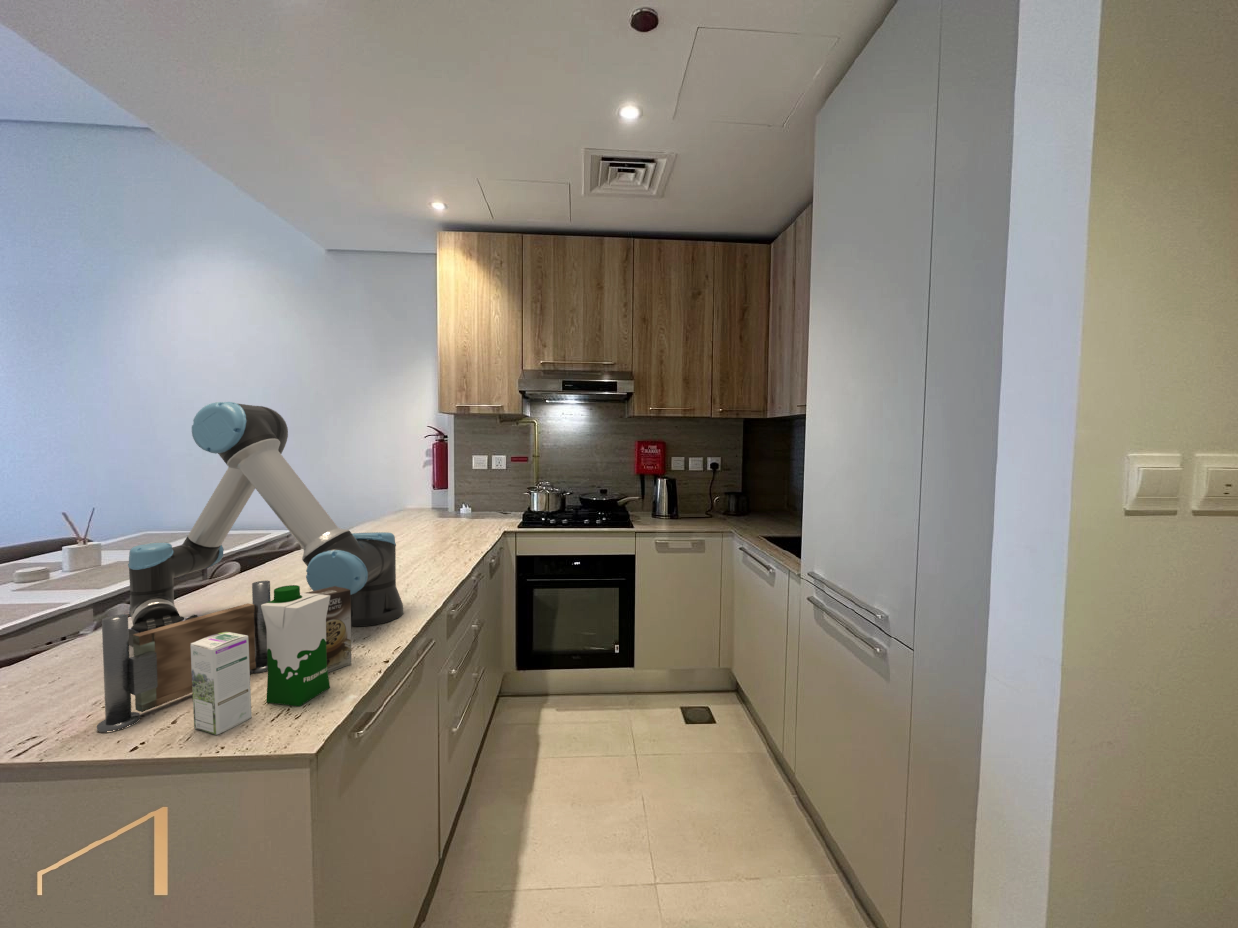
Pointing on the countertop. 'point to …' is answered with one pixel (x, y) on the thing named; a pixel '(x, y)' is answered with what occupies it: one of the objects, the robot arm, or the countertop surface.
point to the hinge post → (260, 624)
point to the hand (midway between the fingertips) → (166, 648)
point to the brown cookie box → (337, 627)
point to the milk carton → (296, 645)
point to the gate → (187, 650)
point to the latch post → (123, 674)
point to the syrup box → (220, 682)
